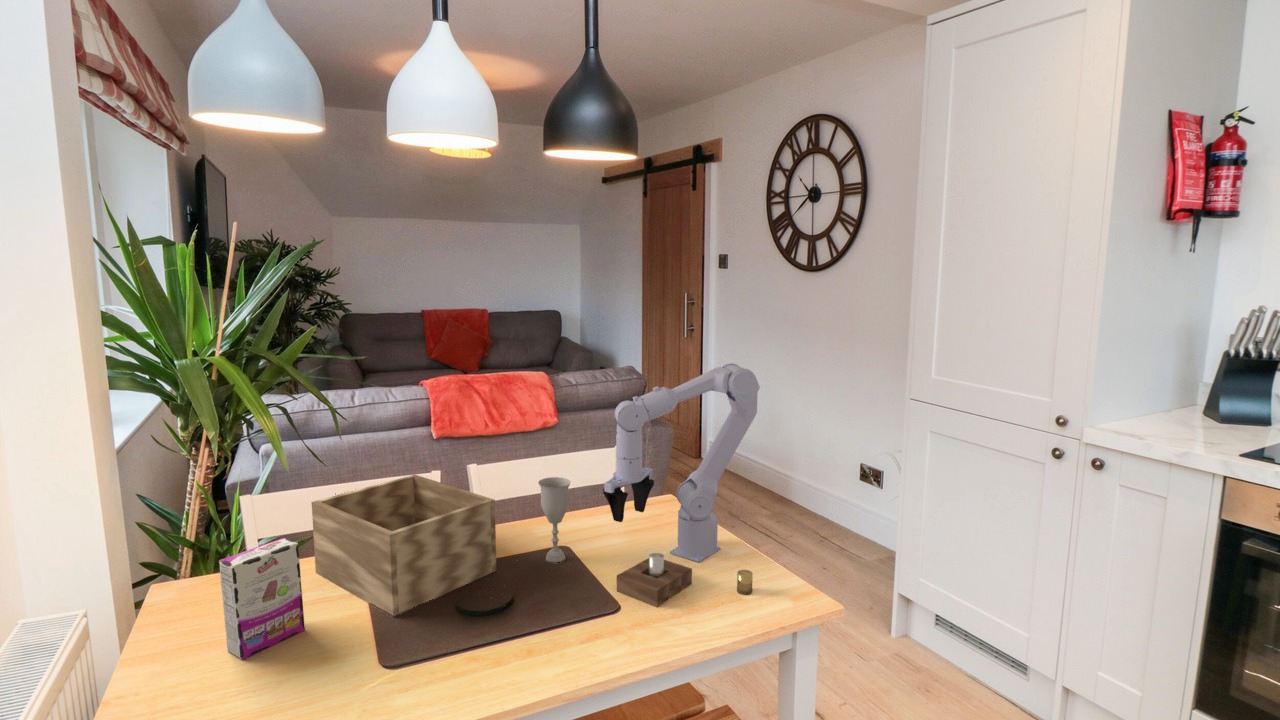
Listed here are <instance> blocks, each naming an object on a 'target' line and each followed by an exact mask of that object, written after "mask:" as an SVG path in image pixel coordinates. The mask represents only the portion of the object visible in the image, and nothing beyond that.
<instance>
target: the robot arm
mask: <svg viewBox="0 0 1280 720" xmlns="http://www.w3.org/2000/svg"><path fill="white" fill-rule="evenodd" d="M760 388H761V386H760V385H759V381H758V379H757V376H756V375H755V373H754V372H753V371H752V370H751V369H748V368H744V367H742V366H739V365H738V364H737V363H727V364H726V363H725V364H724V365H723V366H718V367H715V368H712V369H711V370H709V371H707V372H704V373H702V374H701V375H698V376H697V377H694V378H692V379H690V380H688V381H686V382H684V383H682V384H680V385H677V386H676V387H674V388H673V387H672V388H668V387H666V386H662V387H659V386H655V387H652V391H649V392H647V393H645V394H643V395H640V396H638V395H636V396H633V397H632V399H633V400H628V399H627V400H623V401H621V402H619V404H618V405H616V408H615V410H614V412H613V417H614V419H615V421H616V423H617V424H616V434H615V435H616V436H615V462H616V463H615V466H616V467H615V468H616V469H615V472H613V473H612V477H611V478H610V479H608V481H606V482H604V487H603V488H602V494H603V495H604V497H605V499H606V500H607V503H608V505H609V507H610V512H611V515H612V519H613V521H614V522H618V523H623V521H624V516H625V514H624V513H625V505H626V501H627V498H628V495H629V492H625V491H623V489H622V488H625V487H627V486H629V485H631V488H632V493H633V494H632V495H633V505H634V506H633V507H634V510H635V512H639V513H644V512H645V509H646V505H647V501H648V499H649V496H650V493H651V491H652V488H653V487H654V485H655V480H654V479H651V478H653V468H650V467H643V435H642V434H643V433H642V432H643V430H642V428H643V426H644V424H645V423H647V422H651V421H653V420H655V419H658V418H659V417H662V416H664V415H666V414H670V413H672V412H673V411H674V410H675V409H676V407H677V405H678V403H681V402H683V401H687V400H689V399H692V398H694V397H697V396H699V395H703V394H705V393H707V392H716V393H717V392H718V393H722V394H725V395H726V397H727V400H728V402H729V403H728V404H729V405H730V412H729V414H728V415H727V417H726V419H725V421H723V424H722V426H721V427H720V429H719V431H718V433H717V435H716V436H715V438H714V440H713V442H712V443H711V445H710V446H709V449H708V450H707V452H706V454H705V455H704V457H703V458H702V461H701V462H700V464H699V466H698V467H697V469H696V470H694V471H693V472H691V473H690V474H689V476H688V478H687V479H686V480H684V481H683V482H682V483H680V484H679V486H678V487H677V489H676V498H677V500H676V501H678V503H679V504H680V508H679V510H678V513H677V547H675V548H673V549H671V550H669V554H671V555H674V556H677V557H681V558H684V559H687V560H690V561H693V562H696V563H700V562H702V561H703V560H705V559H707V558H709V557H710V556H712V555H713V554H715V553H716V552H718V551H720V550H721V546H719V545H718V527H719V526H718V524H719V523H718V519H717V516H716V515H715V513H714V512H713V509H714V501H715V499H716V496H717V495H718V483H719V481H720V479H721V477H722V475H723V473H724V472H725V470H726V468H727V466H728V465H729V464H730V461H731V459H732V458H733V457H734V454H735V452H736V451H737V449H738V447H739V445H740V444H741V442H742V441H743V439H744V437H745V435H746V433H747V432H748V430H749V428H750V427H751V424H752V423H753V421H754V420H755V418H756V415H757V414H758V393H759V390H760Z"/></svg>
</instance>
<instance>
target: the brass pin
mask: <svg viewBox="0 0 1280 720" xmlns="http://www.w3.org/2000/svg"><path fill="white" fill-rule="evenodd" d="M736 575H737V577H736V578H737V579H736V581H737V583H736V592H737V593H738V594H739V595H741V596H750V595H753V594H752V593H753V579H754V578H753V575H754V574H753V572H752V571H751V570H749V569H739V570H738V571H737V574H736Z"/></svg>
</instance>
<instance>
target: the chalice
mask: <svg viewBox="0 0 1280 720" xmlns="http://www.w3.org/2000/svg"><path fill="white" fill-rule="evenodd" d="M537 483H538V485H539V487H540V506H541V508H542V511H543V514H544V515H545V518H546V519H547V521H548V523H550V524H552V530H551V534H552V538H551V540H550V541H551V542H552V547H551V549H549V550H547V553H546V555H545V559H546V560H547V561H550V562H559V561H562V560H564V559H565V560H566V556H565V553H564V551H563V550H562V549H560V548H559V546H558V542H559V541H560V539H559V537H558V534H559V529H558V525H559V524H560V523H562V521H563V519H564V517H565V515H566V513H567V511H568V506H569V487H570V485H571V483H572V482H571V480H570V479H568V478H566V477H565V478H564V477H559V476H558V477H557V476H555V477H554V476H553V477H545V478H542V479H540V480H539V481H538V482H537ZM546 560H545V561H546ZM565 560H564V561H565ZM547 561H546V562H547Z"/></svg>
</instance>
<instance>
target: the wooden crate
mask: <svg viewBox="0 0 1280 720" xmlns="http://www.w3.org/2000/svg"><path fill="white" fill-rule="evenodd" d="M311 514H312V515H311V517H312V533H313V535H312V536H313V548H314V549H313V550H314V566H315V574H317V575H318V576H320V577H322V578H324V579H326V580H327V581H328V582H331V583H333V584H334V585H336V586H337V587H339V588H341V589H342V590H344V591H346V592H348V593H349V594H351V595H353V596H355V597H356V598H358V599H360V600H362V601H364V602H366V603H367V604H369V603H372V604H374V605H376V606H377V607H379V608H381V609H383V610H385V611H387V612H388V613H390V614H392V615H395V614H397V613H399V612H401V611H404V610H406V609H409V608H412V607H414V606H416V605H419V604H422V603H424V602H426V603H428V602H430V601H429V600H431V601H433V600H434V599H438V598H439V597H441V596H442V597H443V595H446V594H448V593H450V592H452V591H454V590H456V589H458V588H461V587H463V586H466V585H467V584H470V583H472V582H474V581H477V580H479V579H481V578H483V577H485V576H487V575H489V574H491V573H493V572H496V571H497V544H496V543H497V540H496V539H497V538H496V537H497V534H496V531H497V530H496V499H494V498H491V497H487V496H485V495H480V494H477V493H474V492H472V491H469V490H464V489H462V488H458V487H456V486H453V485H449V484H446V483H443V482H439V481H436V480H433V479H430V478H428V477H423V476H421V475H418V474H412V475H409V476H404V477H400V478H397V479H393V480H389V481H386V482H382V483H378V484H374V485H371V486H367V487H363V488H359V489H355V491H347V492H344V493H341V494H338V495H336V494H335V495H332V496H329V497H326V498H322V499H318V500H313V501H311ZM432 599H433V600H432ZM427 601H428V602H427ZM424 604H425V603H424ZM422 605H423V604H422Z"/></svg>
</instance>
